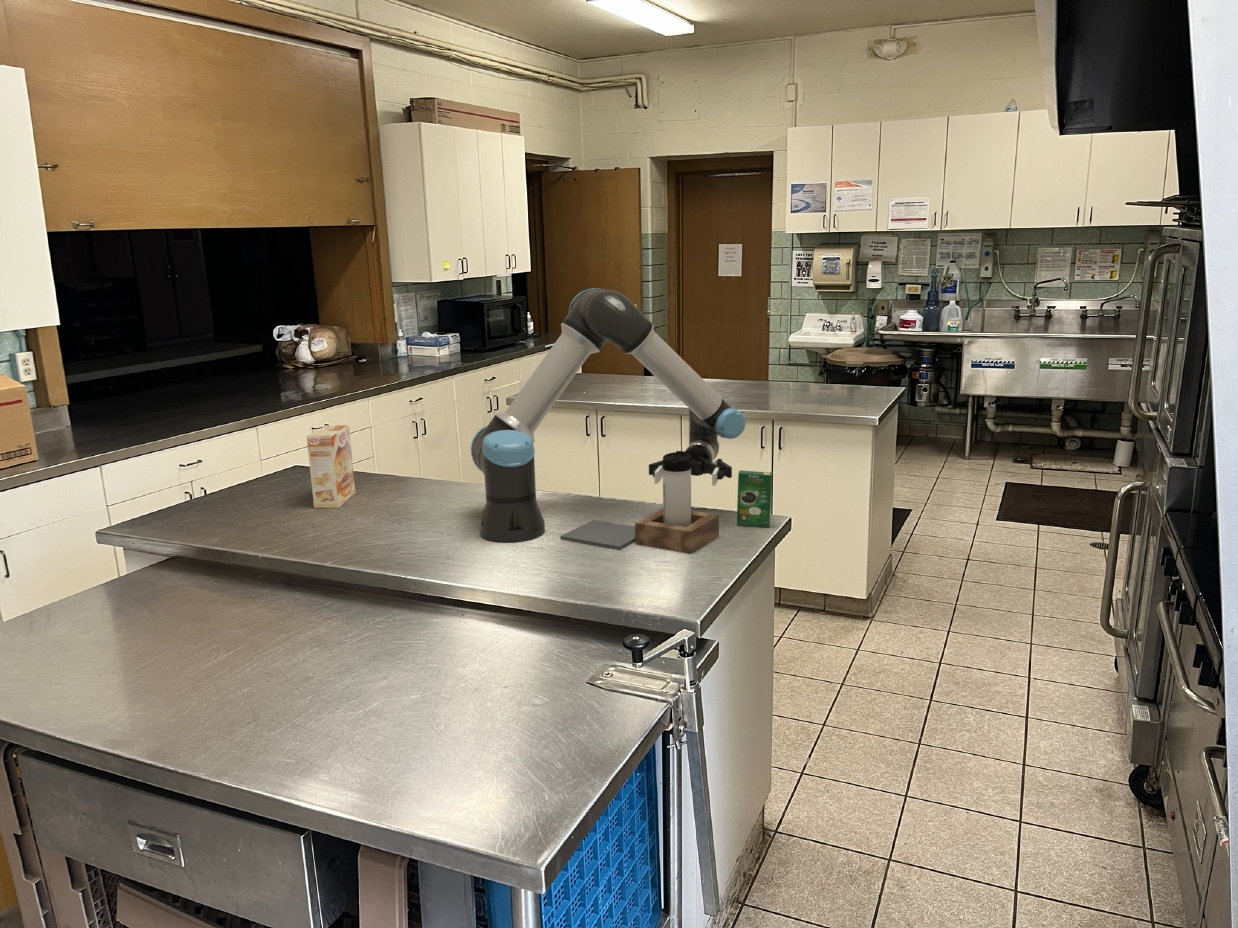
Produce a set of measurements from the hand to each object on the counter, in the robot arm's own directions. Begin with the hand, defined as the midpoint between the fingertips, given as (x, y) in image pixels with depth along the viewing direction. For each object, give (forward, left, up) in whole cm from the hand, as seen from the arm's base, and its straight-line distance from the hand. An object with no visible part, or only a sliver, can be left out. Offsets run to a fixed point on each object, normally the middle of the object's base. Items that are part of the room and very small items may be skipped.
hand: (684, 478), depth 205 cm
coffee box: (+14, +9, -12) cm, 21 cm away
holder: (+3, -9, -12) cm, 15 cm away
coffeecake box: (-95, -22, -12) cm, 99 cm away
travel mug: (+3, -9, -12) cm, 15 cm away
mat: (-13, -14, -12) cm, 23 cm away
